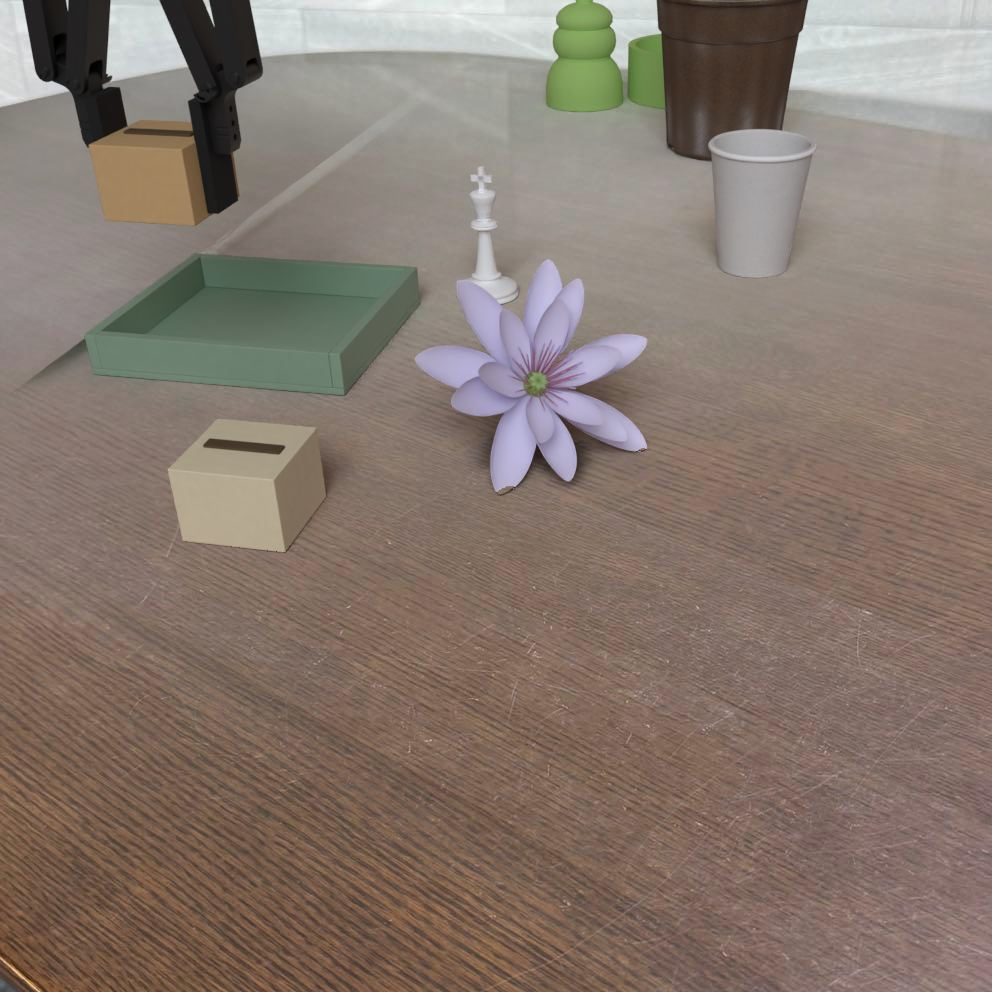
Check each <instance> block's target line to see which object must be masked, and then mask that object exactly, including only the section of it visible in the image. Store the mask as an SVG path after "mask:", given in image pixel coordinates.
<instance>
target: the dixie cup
mask: <svg viewBox="0 0 992 992" xmlns="http://www.w3.org/2000/svg"><path fill="white" fill-rule="evenodd" d="M708 147H709V149H710V151H711V155H712V161H711V167H712V168H711V169H712V183H713V185H712V186H713V201H714V203H713V204H714V218H715V233H716V235H715V236H716V240H715V241H716V252H717V265H718V268H719V269H720V270H721V271H722V272H724V273H726V274H728V275H731V276H734V277H741V278H747V279H762V278H763V279H764V278H771V277H775V276H779V275H781V274H784V273H785V272H786V271H787V270H788V267H789V262H790V258H791V253H792V248H793V244H794V239H795V235H796V231H797V227H798V222H799V217H800V213H801V209H802V204H803V199H804V195H805V191H806V186H807V181H808V177H809V172H810V167H811V164H812V158H813V154H815V152H817V149H818V145H817V143H816V142H815V141H814V140H813V139H812V138H811V137H809V136H807V135H804V134H801V133H798V132H794V131H788V130H783V129H782V130H771V129H747V130H737V131H731V132H726V133H722V134H719V135H717V136H715V137H714V138H713V139H711V140H710V142H709V144H708Z"/></svg>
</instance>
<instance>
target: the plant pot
mask: <svg viewBox="0 0 992 992" xmlns="http://www.w3.org/2000/svg"><path fill="white" fill-rule="evenodd" d="M808 4H809V0H656V13H657V28H658V30H659V32H660V34H661V37H662V55H663V73H664V93H665V111H664V112H665V132H666V133H665V135H666V136H665V138H666V139H665V141H666V146H667V147H668V149H673V150H674V153H676V154H677V155H680V156H685V157H687V158H692V159H696V160H700V161H709V162H712V155H711V151H710V149H709V147H708V144H709V142H710V140H711V139H713V138H714V137H715V136H717V135H719V134H722V133H726V132H731V131H737V130H747V129H771V130H782V131H783V127H784V119H785V114H786V109H787V102H788V98H789V97H788V96H789V90H790V84H791V79H792V74H793V69H794V62H795V58H796V52H797V47H798V41H799V36H800V33H801V32H802V31H803V30H804V24H805V19H806V14H807V10H808Z"/></svg>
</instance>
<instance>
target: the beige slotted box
mask: <svg viewBox="0 0 992 992" xmlns="http://www.w3.org/2000/svg"><path fill="white" fill-rule="evenodd" d="M319 440H320V439H319V434H318V427H315V426H307V425H296V424H285V423H275V422H263V421H250V420H241V419H240V420H239V419H229V418H217V419H216V420H214V422H212V423H211V424H210V425H209V427H208V428H207V429H206V430H205V431H204V432H203V433H202V434H200V435H199V437H198V438H197V439H196V440H195V441H194V442H193V443H191V445H190V446H189V447H188V448H187V449H186V450H185V451H184V452H183V453H182V454H181V455H180V456H179V457H178V458H177V459H176V460H175V461H174V462H173V463H172V464H171V465H170V466H169V467H168V468H167V474H168V480H169V483H170V488H171V493H172V498H173V502H174V507H175V511H176V515H177V521H178V525H179V530H180V535H181V539H182V542H186V541H187V542H188V543H195V544H205V545H212V546H220V547H221V546H222V547H224V546H225V547H231V546H232V547H231V548H239V547H240V548H241V549H249V550H258V551H267V550H268V551H267V552H275V553H283V552H285V553H286V552H287V551H288V550H289V548H290V547H291V546H292V544H293V543H294V541H295V540H296V539H297V537H298V536H299V535H300V533H301V532H302V531H303V529H304V528H305V526H307V524H308V522H309V521H310V519H311V518H312V517H313V515H314V514H315V513H316V512H317V510H318V509H319V507H320V506H321V504H322V503H323V502H324V501H325V499H326V498H327V493H326V491H327V490H326V485H325V478H324V477H325V476H324V470H323V462H322V456H321V455H322V454H321V448H320V441H319ZM187 542H186V543H187ZM289 546H290V547H289ZM286 550H287V551H286ZM276 551H277V552H276Z"/></svg>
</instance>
